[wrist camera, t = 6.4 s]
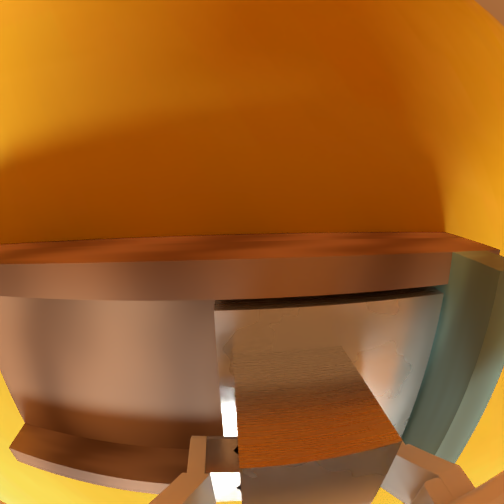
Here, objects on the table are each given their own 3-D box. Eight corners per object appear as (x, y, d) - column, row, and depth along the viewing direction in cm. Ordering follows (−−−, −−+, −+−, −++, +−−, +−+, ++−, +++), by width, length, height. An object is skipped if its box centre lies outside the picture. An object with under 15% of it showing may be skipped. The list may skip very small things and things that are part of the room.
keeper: (409, 273, 12) (530, 348, 5) (375, 427, 14) (426, 521, 7) (216, 283, 11) (205, 419, 4) (228, 447, 13) (233, 564, 7)
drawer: (445, 232, 13) (542, 265, 7) (404, 416, 16) (450, 484, 10) (-15, 245, 12) (-100, 281, 5) (41, 422, 14) (2, 487, 8)
